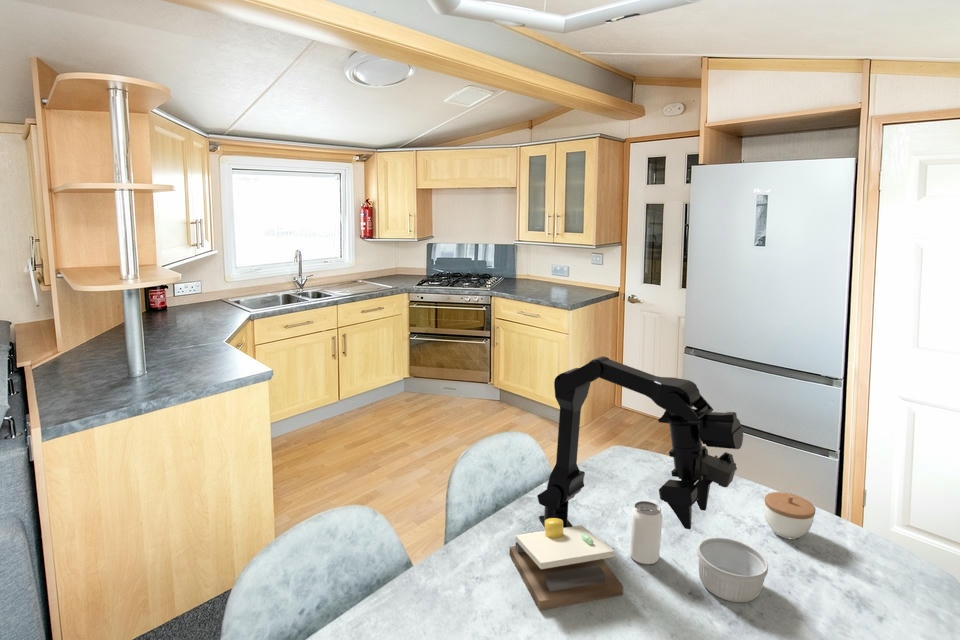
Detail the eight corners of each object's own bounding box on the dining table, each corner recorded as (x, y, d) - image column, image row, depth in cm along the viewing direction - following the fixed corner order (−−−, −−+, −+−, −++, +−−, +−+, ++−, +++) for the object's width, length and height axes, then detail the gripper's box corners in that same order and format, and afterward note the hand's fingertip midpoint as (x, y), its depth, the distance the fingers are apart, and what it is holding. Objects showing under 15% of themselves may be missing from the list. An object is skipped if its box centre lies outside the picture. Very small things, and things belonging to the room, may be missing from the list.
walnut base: (509, 554, 125) (509, 539, 124) (582, 543, 129) (583, 528, 129) (539, 610, 108) (539, 593, 107) (622, 594, 112) (623, 578, 112)
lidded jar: (798, 521, 140) (803, 487, 138) (819, 546, 129) (825, 510, 128) (754, 518, 141) (758, 484, 139) (771, 543, 130) (776, 506, 129)
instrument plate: (515, 540, 123) (514, 521, 123) (581, 530, 127) (581, 512, 127) (540, 569, 109) (540, 547, 109) (614, 556, 113) (613, 536, 113)
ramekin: (759, 573, 120) (763, 544, 118) (769, 615, 108) (773, 583, 106) (694, 560, 124) (696, 531, 123) (695, 598, 112) (699, 567, 110)
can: (660, 567, 121) (664, 517, 119) (629, 563, 122) (633, 513, 120) (657, 549, 127) (661, 501, 125) (627, 546, 128) (631, 498, 126)
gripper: (713, 463, 99) (723, 547, 100) (742, 432, 114) (750, 506, 115) (653, 458, 107) (663, 536, 108) (687, 429, 121) (695, 499, 122)
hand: (695, 519), depth 113 cm, fingers open, 9 cm apart
